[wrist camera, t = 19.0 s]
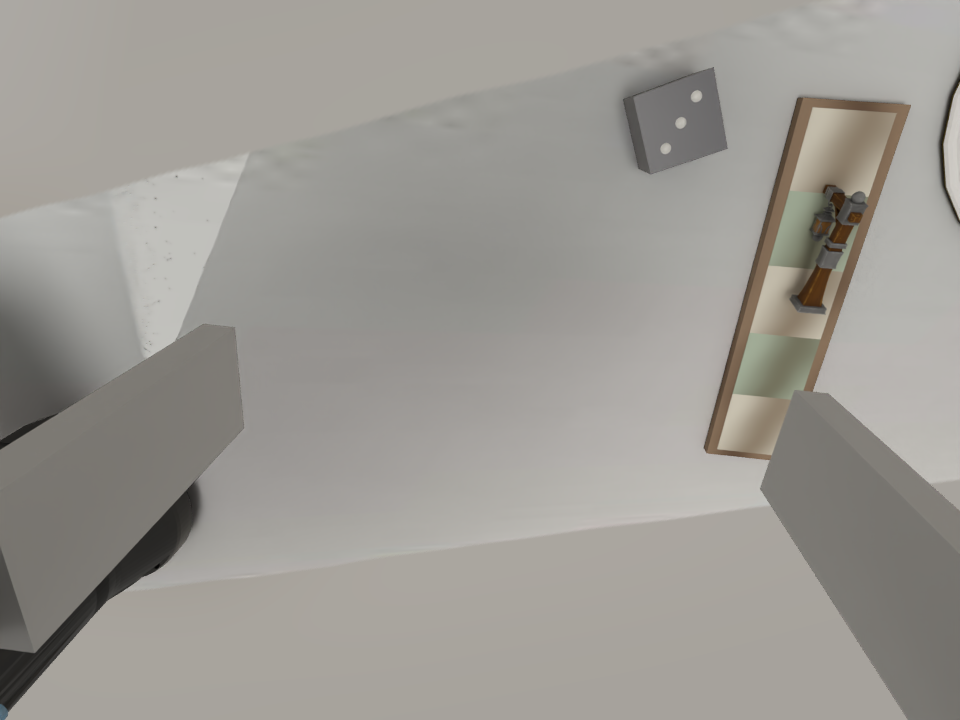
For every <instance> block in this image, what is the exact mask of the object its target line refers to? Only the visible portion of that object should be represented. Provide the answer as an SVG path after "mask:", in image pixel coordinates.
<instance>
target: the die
mask: <svg viewBox="0 0 960 720" xmlns="http://www.w3.org/2000/svg"><path fill="white" fill-rule="evenodd" d="M623 102H624V106H625V110H626V115H627V119H628V123H629V128H630V132H631V137H632V141H633V145H634V150H635V154H636V158H637V163H638V167H639V169H641V170H643V171H645V172H647V173H649V174H653V173H656V172H659V171H662V170H665V169H668V168H671V167H674V166H677V165H680V164H683V163H686V162H689V161H692V160H695V159H698V158H701V157H704V156H707V155H710V154H713V153H716V152H719V151H722V150H725V149H728V148H727V142H726V136H725V131H724V125H723V119H722V113H721V107H720V102H719V96H718V90H717V84H716V79H715V73H714V67H713V68H710V69H707V70H703V71H700V72H697V73H694V74H691V75H688V76H686V77H683V78H680V79H677V80H675V81H672V82H669V83H667V84H664V85H661V86H658V87H656V88H653V89H650V90H648V91H645V92H642V93H639V94H637V95H634V96H631V97H629V98H626V99H623Z"/></svg>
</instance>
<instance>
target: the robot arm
mask: <svg viewBox="0 0 960 720" xmlns="http://www.w3.org/2000/svg"><path fill="white" fill-rule="evenodd" d="M243 429H244V422H243V411H242V400H241V390H240V379H239V368H238V357H237V346H236V335H235V327H226V326H217V325H208V324H202V325H201V326H199V327H198V328H196V329H194V330H193V331H191V332H190V333H188V334H186V335H185V336H183V337H181V338H180V339H178V340H177V341H175V342H173V343H172V344H170V345H169V346H167V347H165V348H164V349H162V350H161V351H159V352H157V353H156V354H154V355H152V356H151V357H149V358H148V359H146V360H144V361H143V362H141V363H140V364H138V365H136V366H135V367H133V368H131V369H130V370H128V371H127V372H125V373H123V374H122V375H120V376H119V377H117V378H115V379H114V380H112V381H110V382H109V383H107V384H106V385H104V386H102V387H101V388H99V389H98V390H96V391H94V392H93V393H91V394H89V395H88V396H86V397H85V398H83V399H81V400H80V401H78V402H77V403H75V404H73V405H72V406H70V407H68V408H67V409H65V410H64V411H62V412H60V413H59V414H56V415H53V416H50V417H47V418H45V419H42V420H39V421H37V422H34V423H31V424H29V425H26V426H24V427H22V428H21V429H19V430H17V431H16V432H14V433H12V434H11V435H9V436H7V437H6V438H4V439H2V440H1V441H0V720H5V718H6V717H7V716H8V712H9V711H10V710H11V708H12V707H13V706H14V705H15V704H16V703H17V702H18V700H19V699H20V698H21V697H22V696H23V695H24V694H25V693H26V691H27V690H28V689H29V688H30V687H31V686H32V685H33V684H34V682H35V681H36V680H37V679H38V678H39V677H40V676H41V675H42V673H43V672H44V671H45V670H46V669H47V668H48V667H49V665H50V664H51V663H52V662H53V661H54V660H55V659H56V658H57V656H58V655H59V654H60V653H61V652H62V651H63V650H64V648H65V647H66V646H67V645H68V644H69V643H70V642H71V641H72V640H73V638H74V637H75V636H76V635H77V634H78V633H79V632H80V630H81V629H82V628H83V627H84V626H85V625H86V624H87V622H88V621H89V620H90V619H91V618H92V617H93V616H94V614H95V613H96V612H97V611H98V610H99V609H100V608H101V607H102V606H103V605H104V604H105V603H106V601H108V600H109V599H111V598H112V597H114V596H115V595H117V594H119V593H120V592H122V591H124V590H125V589H127V588H128V587H130V586H131V585H133V584H134V583H135V582H137V581H138V580H139V579H140V578H141V577H144V576H147V575H149V574H151V573H153V572H155V571H156V570H158V569H159V568H161V567H162V566H163V565H165V564H166V563H167V562H168V561H169V560H170V559H171V558H172V557H173V556H174V554H175V553H176V552H177V551H178V550H179V548H180V547H181V546H182V545H183V544H184V542H185V541H186V539H187V537H188V536H189V533H190V530H191V526H192V508H191V503H190V500H189V497H188V494H187V492H186V490H187V489H188V488H189V487H190V486H191V485H192V483H193V482H194V481H195V480H196V479H197V478H198V477H199V476H200V475H201V474H202V473H203V472H204V471H205V469H206V468H207V467H208V466H209V465H210V464H211V463H212V462H213V461H214V460H215V459H216V458H217V457H218V455H219V454H220V453H221V452H222V451H223V450H224V449H225V448H226V447H227V446H228V445H229V444H230V443H231V441H232V440H233V439H234V438H235V437H236V436H237V435H238V434H239V433H240V432H241V431H242V430H243ZM760 490H761V491H762V493H763V494H764V496H765V497H766V499H767V501H768V502H769V504H770V505H771V507H772V508H773V510H774V511H775V513H776V515H777V516H778V518H779V519H780V521H781V522H782V524H783V525H784V527H785V528H786V530H787V532H788V533H789V535H790V536H791V538H792V540H793V541H794V543H795V544H796V546H797V547H798V549H799V550H800V552H801V553H802V555H803V557H804V558H805V560H806V561H807V563H808V565H809V566H810V568H811V569H812V571H813V572H814V573H815V576H816V577H817V579H818V580H819V582H820V583H821V585H822V586H823V588H824V589H825V591H826V592H827V594H828V596H829V597H830V599H831V600H832V602H833V604H834V605H835V607H836V608H837V610H838V611H839V613H840V614H841V616H842V618H843V619H844V621H845V622H846V624H847V625H848V627H849V629H850V630H851V632H852V633H853V635H854V636H855V638H856V639H857V641H858V643H859V644H860V646H861V647H862V649H863V650H864V652H865V654H866V655H867V657H868V658H869V660H870V661H871V663H872V665H873V666H874V668H875V669H876V671H877V672H878V674H879V675H880V677H881V679H882V680H883V682H884V683H885V685H886V687H887V688H888V690H889V691H890V693H891V694H892V696H893V697H894V699H895V700H896V702H897V704H898V705H899V707H900V708H901V710H902V711H903V713H904V714H905V716H906V718H907V719H908V720H960V511H959V510H958V509H957V508H956V507H955V506H954V505H953V504H951V503H950V502H949V501H948V500H947V499H946V498H945V497H944V496H943V495H941V494H940V493H939V492H938V491H937V490H936V489H935V488H934V487H932V486H931V485H930V484H929V483H928V482H927V481H926V480H925V479H923V478H922V477H921V476H920V475H919V474H918V473H917V472H916V471H915V470H913V469H912V468H911V467H910V466H909V465H908V464H907V463H906V462H904V461H903V460H902V459H901V458H900V457H899V456H898V455H897V454H895V453H894V452H893V451H892V450H891V449H890V448H889V447H888V446H887V445H885V444H884V443H883V442H882V441H881V440H880V439H879V438H878V437H876V436H875V435H874V434H873V433H872V432H871V431H870V430H869V429H868V428H866V427H865V426H864V425H863V424H862V423H861V422H860V421H859V420H857V419H856V418H855V417H854V416H853V415H852V414H851V413H850V412H848V411H847V410H846V409H845V408H844V407H843V406H842V405H841V404H840V403H838V402H837V401H836V400H835V399H834V398H833V397H832V396H831V395H829V394H828V393H819V392H810V391H801V390H794V393H793V396H792V398H791V401H790V404H789V407H788V410H787V413H786V416H785V419H784V421H783V424H782V427H781V430H780V433H779V436H778V439H777V441H776V444H775V447H774V450H773V453H772V456H771V459H770V462H769V464H768V467H767V470H766V473H765V476H764V479H763V482H762V485H761V487H760Z"/></svg>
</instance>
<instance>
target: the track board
mask: <svg viewBox="0 0 960 720" xmlns="http://www.w3.org/2000/svg"><path fill="white" fill-rule="evenodd" d="M910 107H911V105H904V104H889V103H875V102H860V101H845V100H830V99H816V98H798V99H797V103H796V107H795V111H794V114H793V118H792V122H791V126H790V129H789V133H788V137H787V140H786V144H785V148H784V152H783V155H782V159H781V163H780V167H779V170H778V174H777V178H776V181H775V185H774V189H773V193H772V196H771V200H770V204H769V208H768V211H767V215H766V219H765V222H764V226H763V230H762V234H761V237H760V241H759V245H758V249H757V252H756V256H755V260H754V263H753V267H752V271H751V275H750V278H749V282H748V286H747V290H746V293H745V297H744V301H743V304H742V308H741V312H740V316H739V319H738V323H737V327H736V331H735V334H734V338H733V342H732V345H731V349H730V353H729V357H728V360H727V364H726V368H725V372H724V375H723V379H722V383H721V386H720V390H719V394H718V398H717V401H716V405H715V409H714V413H713V416H712V420H711V424H710V427H709V431H708V435H707V439H706V442H705V446H704V449H705V451H706V453H709V454H719V455H728V456H737V457H746V458H755V459H765V460H770V459H771V456H772V453H773V450H774V447H775V444H776V441H777V439H778V436H779V433H780V430H781V427H782V424H783V421H784V419H785V416H786V413H787V410H788V407H789V404H790V401H791V398H792V396H793V393H794V390H801V391H810V392H813V389H814V386H815V383H816V380H817V377H818V374H819V371H820V368H821V366H822V363H823V360H824V357H825V354H826V351H827V348H828V345H829V342H830V339H831V336H832V334H833V331H834V328H835V325H836V322H837V319H838V316H839V313H840V310H841V307H842V304H843V302H844V299H845V296H846V293H847V290H848V287H849V284H850V281H851V278H852V275H853V273H854V270H855V267H856V264H857V261H858V258H859V255H860V252H861V249H862V246H863V243H864V241H865V238H866V235H867V232H868V229H869V226H870V223H871V220H872V217H873V214H874V211H875V209H876V206H877V203H878V200H879V197H880V194H881V191H882V188H883V185H884V182H885V180H886V177H887V174H888V171H889V168H890V165H891V162H892V159H893V156H894V153H895V150H896V148H897V145H898V142H899V139H900V136H901V133H902V130H903V127H904V124H905V121H906V118H907V116H908V113H909V110H910ZM825 185H836V186H837V187H838V188H839V189H842V190H843V191H844V192H845V196H846V197H847V198H851V196H852V195H853V194H854V193H855V192H858V191H861V192H864V193H865V196H866V198H865V200H864V202H865V203H866V204H867V205H868V207H867V208H866V210H865V212H864V213H863V217H862V219H861V221H860V223H859V224H858V226H854V227H853V229H852V231H851V233H850V235H849V237H848V239H847V241H846V243H847V245H848V246H847V247H846V249H842V251H843V252H844V254H843V255H842V256H841V258H840V260H839V262H838V263H837V266H836V269H832V271H831V274H830V276H829V279H828V282H827V286H826V289H825V292H824V296H823V301H822V303H823V305H824V306H825V307H826V309H827V310H826V312H825V314H826V315H824V314H811V313H799V312H797V311H796V309H795V307H794V306H793V304H792V303H791V301H790V300H789V298H791V296H792V294H794V295H799V293H800V292H801V291H802V289H803V288H804V286H805V284H806V283H807V281H808V279H809V277H810V276H811V274H812V272H813V270H814V268H815V266H816V264H817V263H816V262H815V260H816V259H817V257H818V255H819V253H820V251H821V247H822V245H825V244H826V243H825V242H824V240H825V239H826V237H830V235H831V233H832V231H833V229H834V227H835V225H836V222H833V223H832V225H831V228H830V231H829V236H823V238H822V240H820V241H814V240H813V239H812V235H813V233H812V232H811V231H810V230H809V229H811V228H812V226H813V224H814V222H815V221H816V216H815V215H814V214H820V213H823V211H825V210H824V209H823V208H824V207H828V200H827V199H826V198H825V197H826V196H825V194H824V193H823V190H824V188H825ZM830 203H831V204H832V205H833V203H832V202H830ZM830 203H829V204H830ZM830 207H831V206H830ZM832 209H833V210H834V211H835V207H834V205H833V207H832ZM831 213H832V214H833V215H832V216H833V217H834V218H835V212H831Z"/></svg>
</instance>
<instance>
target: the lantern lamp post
mask: <svg viewBox="0 0 960 720" xmlns="http://www.w3.org/2000/svg"><path fill="white" fill-rule="evenodd" d="M823 193H824V194H825V196H826V197H825V198H826V199H827V200H828V207H824V208H823V209H824V210H825V211H823V213H820V214H814V215H815V216H816V221H815V222H814V224H813V226H812V228H811V229H809V230H810V231H811V232H812V233H813V235H812V239H813V240H814V241H820V240H822V238H823V236H829V231H830V228H831V225H832V223H833V222H836V225H835V227H834V229H833V231H832V233H831V235H830V237H826V239H825V240H824V242H825V243H826V244H825V245H822V247H821V251H820V253H819V255H818V257H817V259H816V260H815V262H816V263H817V264H816V266H815V268H814V270H813V272H812V274H811V276H810V277H809V279H808V281H807V283H806V284H805V286H804V288H803V289H802V291H801V292H800V293H799V295H794V294H792V296H791V298H789V300H790V301H791V303H792V304H793V306H794V307H795V309H796V311H797V312H799V313H811V314H824V315H826V314H825V312H826V310H827V309H826V307H825V306H824V305H823V303H822V301H823V296H824V292H825V289H826V286H827V282H828V279H829V276H830V274H831V271H832V269H836V266H837V263H838V262H839V260H840V258H841V256H842V255H843V254H844V252H843V251H842V249H846V247H847V246H848V245H847V243H846V241H847V239H848V237H849V235H850V233H851V231H852V229H853V227H854V226H858V224H859V223H860V221H861V219H862V217H863V213H864V212H865V210H866V208H867V207H868V205H867V204H866V203H865V202H864V200H865V198H866V196H865V193H864V192H861V191H858V192H855V193H854V194H853V195H852V196H851V198H847V197H846V196H845V192H844V191H843V190H842V189H839V188H838V187H837V186H836V185H825V188H824V190H823ZM830 202H832V203H833V205H834V207H835V211H834V210H833V209H832V207H833V205H832V204H831V203H830ZM829 203H830V204H829ZM830 206H831V207H830ZM831 212H835V218H834V217H833V216H832V215H833V214H832V213H831Z"/></svg>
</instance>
